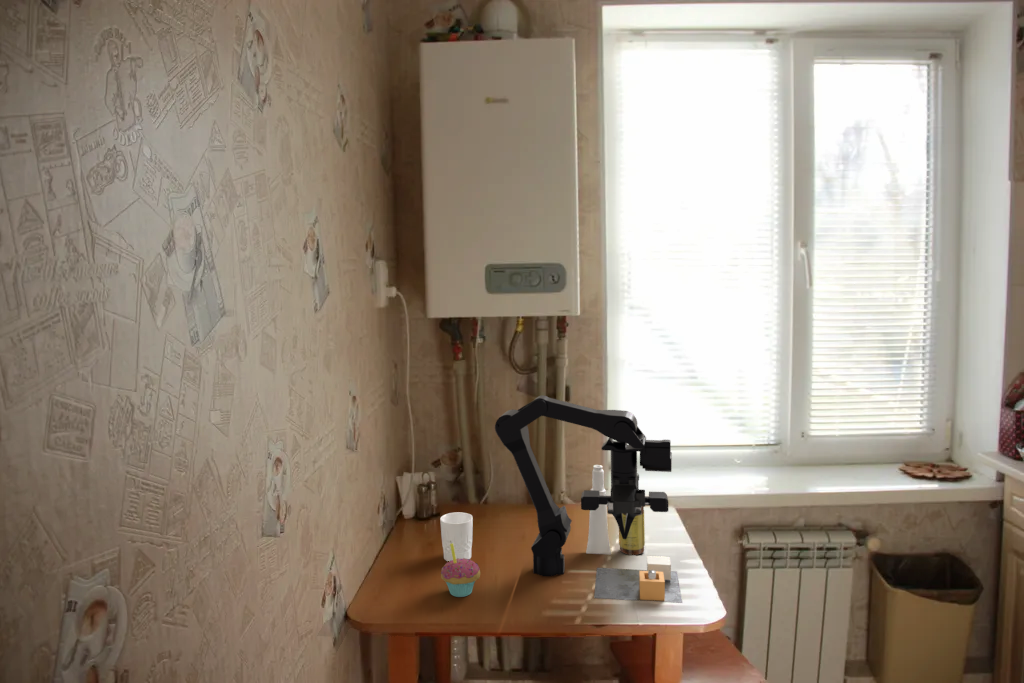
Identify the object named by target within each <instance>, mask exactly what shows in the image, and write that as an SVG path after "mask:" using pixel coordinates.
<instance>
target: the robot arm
mask: <svg viewBox="0 0 1024 683" xmlns="http://www.w3.org/2000/svg"><path fill="white" fill-rule="evenodd" d="M541 417H545V418H550V419H554V420H558V421H563V422H566V423H568V424H572V425H577V426H581V427H586V428H590V429H592V430H594V431H596V432H598V433H599V434H601V435H603V436H604V437H607V440H606V441H605V442H604V443H603V444H602V446H601V450H602V451H610V495H606V496H600V492H599V491H594V490H591V489H590V490H587V489H586V490H583V491H582V492H581V498H580V509H581V510H582V511H590V510H596V509H597V508H598V507H599V504H603V505H607V515H608V514H609V515H612V517H614V519H615V521H616V523H617V526H618V530H619V529H620V532H621V535H622V538H623V539H627V536H628V533H629V530H630V527H631V524H632V522H633V520H634V518H635V517H636V515H640V514H641V507H646V506H649V509H650V510H651V511H652V512H654V513H668V512H669V497H668V494H667V493H666V492H665V491H648V496H646V490H645V489H640V488H639V489H637V473H638V452H639V467H642V469H644V471H645V472H658V473H659V472H664V473H665V472H667V473H672V471H673V470H672V461H673V457H672V456H673V455H672V454H673V453H672V451H671V450H672V449H671V448H672V446H671V439H659V440H656V439H647V436H646V435H645V434H644V433H643V432H642V430H641V429H640V427H639V426H638V420H637V417H636V415H634V414H633V412H630V411H628V410H620V409H619V410H618V409H595V408H590V407H588V406H584V405H579V404H577V403H576V404H575V403H571V402H567V401H564V400H560V399H557V398H552V397H548V396H547V395H543V394H542V395H539V396H537V397H536V398H534V400H532V401H531V402H528V403H526V404H525V405H523V406H522V407H520V408H518V409H508V410H507V411H505V412H504V413H503V414H502V415H500V416H499V417H498V418H497V419H496V422H495V424H494V431H495V433H496V435H497V436H498V438H499V440H500V441H501V443H502V444H503V446H504V447H505V448H506V449H507V450H508V451H509V452H510V453H511V455H512V456H513V460H514V461H515V465H516V466H517V468H518V470H519V472H520V476H521V477H522V480H523V482H524V485H525V487H526V489H527V492H528V494H529V497H530V499H531V501H532V504H533V506H534V508H535V511H536V517H537V528H538V532H539V533H538V534H537V536H536V537H535V540H534V541H533V544H532V545H531V547H530V549H531V552H532V560H533V561H532V562H533V565H532V568H533V569H532V570H533V572H532V573H533V574H536V575H538V576H540V577H548V578H550V577H555V576H561V575H564V574H565V554H563V548H562V547H564V545H565V544H566V542H567V539H568V537H569V534H570V532H571V529H572V527H571V524H572V521H573V520H572V518H570V516H569V515H568V511H567V508H566V506H565V505H562V506H561V507H559V506H558V504H556V502H555V501H554V499H553V497H552V494H551V493H550V490H549V487H548V485H547V481H546V480H545V477H544V476H543V473H542V471H541V469H540V466H539V464H538V461H537V458H536V456H535V455H534V452H533V449H532V447H531V441H530V432H529V431H530V430H529V427H528V425H530V424H531V423H533V422H535V421H536V420H537V419H539V418H541ZM622 513H626V522H625V532H624V523H623V516H622Z"/></svg>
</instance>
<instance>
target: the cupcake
mask: <svg viewBox="0 0 1024 683" xmlns="http://www.w3.org/2000/svg"><path fill="white" fill-rule="evenodd" d="M450 542H451V540H450ZM450 546H451V551H452V557H453V560H452V561H449V562H448V561H447V562H446V563H444V565H443V566H442V567H441V568H440V569H441V571H440V578H441V580H443V581H444V583H446V586H447V588H448V590H449V594H450V595H451V596H453V597H457V598H463V597H464V598H465V597H467V596H469V595H471V594H472V593H473V588H474V585H475V582H476V581H478V580H479V579H480V576H481V570H480V566H479V565H478V563H476V562H475V561H474V560H472V559H471V558H470V559H465V558H463V559H459V558H457V559H456V556H455V551H454V546H453V543H451V544H450Z"/></svg>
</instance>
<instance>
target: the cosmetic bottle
mask: <svg viewBox="0 0 1024 683" xmlns="http://www.w3.org/2000/svg"><path fill="white" fill-rule="evenodd" d="M603 467H604V466H603V465H600V464H594V465H593V469H592V471H591V472H592V473H591V474H592V478H591V479H592V480H591V482H592V484H591V486H592V488H590V490H594V491H599V492H600V496H607V493H606V488H605V485H604V484H605V480H604V479H605V471H604V469H603ZM607 510H608V507H607V505H603V504H599V507H598V508H597V509H596V510H589V520H588V522H589V523H588V526H589V527H588V535H587V536H588V537H587V544H586V551H585V553H586V554H593V555H612V550H611V546H610V538H609V537H610V536H609V526H608V512H607Z"/></svg>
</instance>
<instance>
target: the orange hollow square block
mask: <svg viewBox="0 0 1024 683" xmlns="http://www.w3.org/2000/svg"><path fill="white" fill-rule="evenodd" d="M639 591H640V599H642V600H663V601H665V580H664V574H663V572H659V571H656V580H655V579H648V571H639Z"/></svg>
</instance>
